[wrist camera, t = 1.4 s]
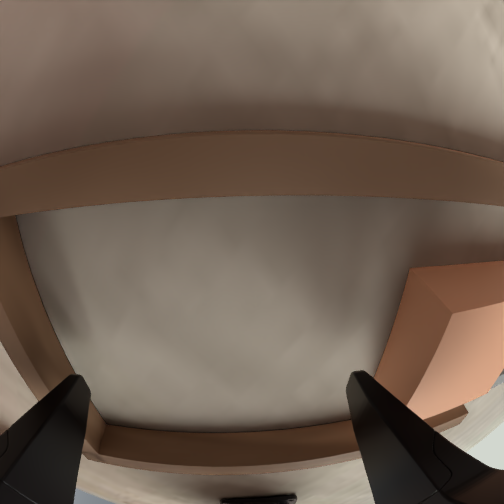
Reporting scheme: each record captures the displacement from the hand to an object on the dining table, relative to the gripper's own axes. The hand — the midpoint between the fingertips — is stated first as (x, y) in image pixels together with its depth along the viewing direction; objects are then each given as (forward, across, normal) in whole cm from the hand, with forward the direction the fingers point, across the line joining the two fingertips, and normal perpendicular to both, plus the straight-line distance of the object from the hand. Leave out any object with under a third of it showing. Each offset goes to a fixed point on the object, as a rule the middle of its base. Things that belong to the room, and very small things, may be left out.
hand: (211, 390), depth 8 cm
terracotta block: (+2, -10, 0) cm, 10 cm away
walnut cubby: (+2, -4, 0) cm, 4 cm away
